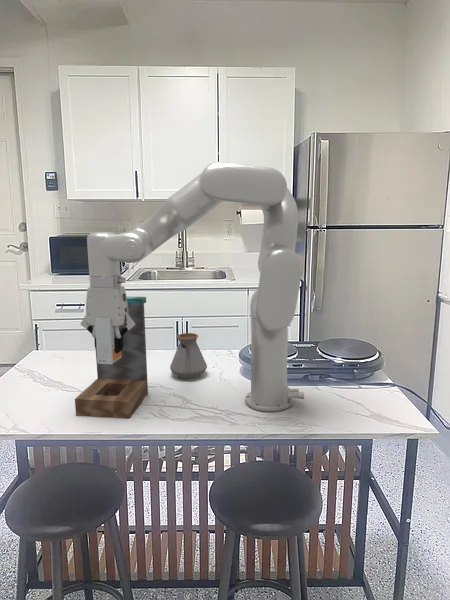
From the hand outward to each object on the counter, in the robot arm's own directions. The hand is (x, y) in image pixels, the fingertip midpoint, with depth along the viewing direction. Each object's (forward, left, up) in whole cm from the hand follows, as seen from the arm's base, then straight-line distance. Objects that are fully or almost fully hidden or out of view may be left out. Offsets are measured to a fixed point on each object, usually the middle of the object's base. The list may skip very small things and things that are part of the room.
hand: (109, 350), depth 117 cm
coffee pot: (-16, -19, -15) cm, 29 cm away
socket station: (0, -2, -15) cm, 15 cm away
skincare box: (0, 0, -3) cm, 3 cm away
